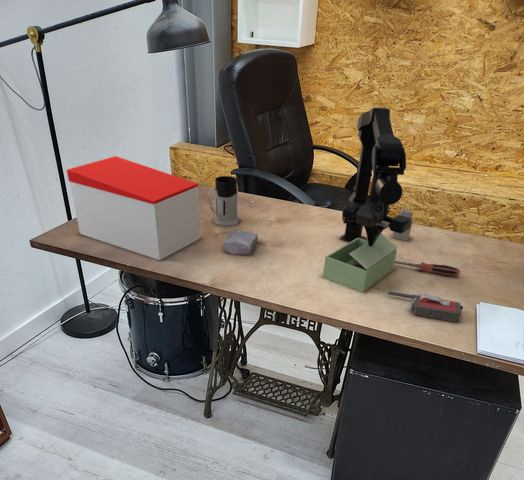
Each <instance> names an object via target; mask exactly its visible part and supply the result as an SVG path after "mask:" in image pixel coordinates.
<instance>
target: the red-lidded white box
mask: <svg viewBox="0 0 524 480" xmlns="http://www.w3.org/2000/svg"><path fill="white" fill-rule="evenodd" d="M66 173H67V179H68V182H69V186H70V190H71V195H72V200H73V205H74V210H75V215H76V216H75V217H76V221H77V226H78V231H79V234H80V235H82V236H86V237H88V238H92V239H95V240H98V241H101V242H104V243H106V244H110V245H112V246H116V247H117V248H121V249H124V250H127V251H131V252H134V253H137V254H140V255H141V256H146V257H149V258H152V259H155V260H157V261H161V260H163V259H165V258H167V257H168V256H170V255H172V254H174V253H177V252H178V251H179V250H181V249H183V248H185V247H187V246H189V245H191V244H193V243H194V242H197V241H198V240H200V239H201V227H200V226H201V225H200V202H199V199H200V198H199V197H200V196H199V183H198V182H194V181H191V180H189V179H186V178H182V177H179V176H177V175H173V174H171V173H168V172H164V171H162V170H159V169H156V168H152V167H149V166H146V165H144V164H141V163H138V162H134V161H131V160H129V159H125V158H123V157H120V156H116V155H115V156H111V157H108V158H105V159H104V158H103V159H101V160H96V161H93V162H90V163H85V164H82V165H78V166H75V167H72V168H68V169H66Z"/></svg>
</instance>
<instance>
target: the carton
mask: <svg viewBox="0 0 524 480" xmlns="http://www.w3.org/2000/svg"><path fill="white" fill-rule="evenodd" d="M367 242H368V239H367V240H366V239H360V238H357V239H355V240H353V241H351V242H348V243H346V244H345V245H343V246H341V247H340V248H337V249H336V250H334V251H333V252H331V253H330V254H328V255H326V256H325V257H324V265H323V273H322V277H323V278H325V279H327V280H330V281H333V282H336V283H338V284H341V285H343V286H345V287H349V288H351V289H354V290H357V291H359V292H362V293H364V292H365V291H366V290H368V289H369V288H370V287H372V286H373V285H375V284H376V283H377V282H378V281H380V280H381V279H382V278H384V277H385V276H386V275H388V274H389V273H390V272H392V271H393V270H394V266H395V263H394V262H395V261H396V257H397V252H398V249H396V250H394V251H393V252H391V253H390V254H389V255H387V256H386V257H384V258H383V259H381V260H380V261H378V262H377V263H376V264H374V265H373V266H371V267H370V268H368V269H367V270H364V269H361V268H358V267H355V266H352V265H353V264H354V263H355V262H356V260H355V259H354V258H353V257H352V256H351V255H350V253H351V252H352V251H354V250H356V249H357V248H359V247H360V246H362V245H364V244H365V243H367Z"/></svg>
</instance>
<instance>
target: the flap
mask: <svg viewBox="0 0 524 480" xmlns="http://www.w3.org/2000/svg"><path fill="white" fill-rule="evenodd" d="M394 250H398V246H396V244H394V243H393V242H392V241H391V240H390V239H388V238H387V237H386V236H385V235H384V234H383V233H381V234H380V235H379V237H378V239H377V240H376V242H375V243H374V245H373V246H372V247H371V246H369V244H368V242H367V243H365V244H364V245H362V246H360V247H359V248H357V249H356V250H354V251H352V252H351V253H350V255H351V256H352V257H353V258H354V259H355V260H357V261H358V262H359V263H360V264H361V265H362V266H363V267H364V268H365V269H368V268H370V267H371V266H373V265H374V264H376V263H377V262H378V261H380V260H381V259H383V258H384V257H386V256H387V255H389V254H390V253H391V252H393V251H394Z"/></svg>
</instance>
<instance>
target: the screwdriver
mask: <svg viewBox="0 0 524 480" xmlns="http://www.w3.org/2000/svg"><path fill="white" fill-rule="evenodd" d="M394 264H397V265H403V266H409V267H413V268H416V269H417V268H418V269H419V271H421V272H423V271H424V272H425V271H426V272H430V273H434V274H438V275H442V276H450V277H451V276H452V277H453V276H454V277H456V276H459V275H460V274H461V270H460V269H459V268H457V267H454V266H450V265H447V264H436V263H426V262H423V261H422V262H420V263H410V262H405V261H398V260H395V262H394Z"/></svg>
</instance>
